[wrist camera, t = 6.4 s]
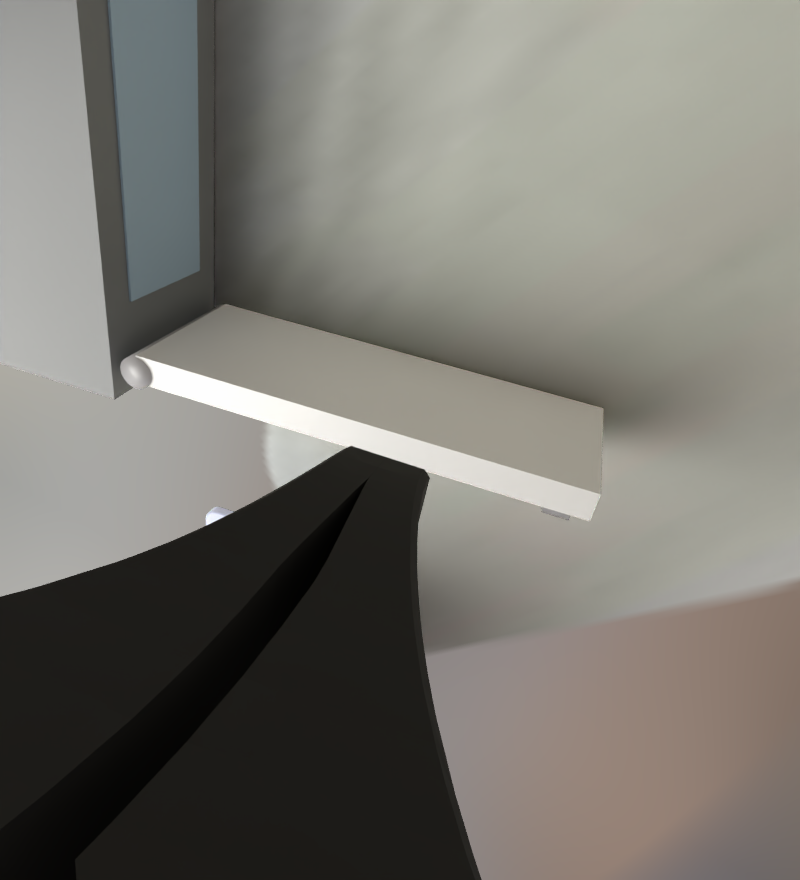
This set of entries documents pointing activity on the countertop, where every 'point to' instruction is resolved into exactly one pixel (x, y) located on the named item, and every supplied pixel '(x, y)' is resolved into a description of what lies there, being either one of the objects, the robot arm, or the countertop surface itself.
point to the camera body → (103, 182)
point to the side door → (385, 405)
